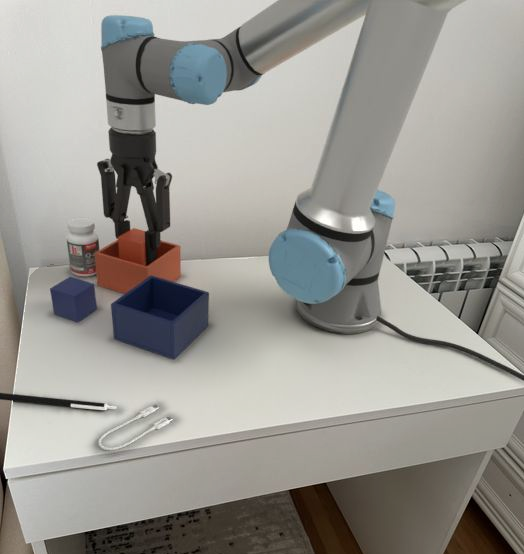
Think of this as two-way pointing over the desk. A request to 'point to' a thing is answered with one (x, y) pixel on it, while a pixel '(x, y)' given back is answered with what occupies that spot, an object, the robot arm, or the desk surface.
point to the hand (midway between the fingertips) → (138, 259)
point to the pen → (56, 401)
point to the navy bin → (160, 316)
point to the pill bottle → (82, 246)
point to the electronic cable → (142, 413)
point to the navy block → (73, 299)
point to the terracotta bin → (135, 267)
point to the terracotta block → (133, 246)
